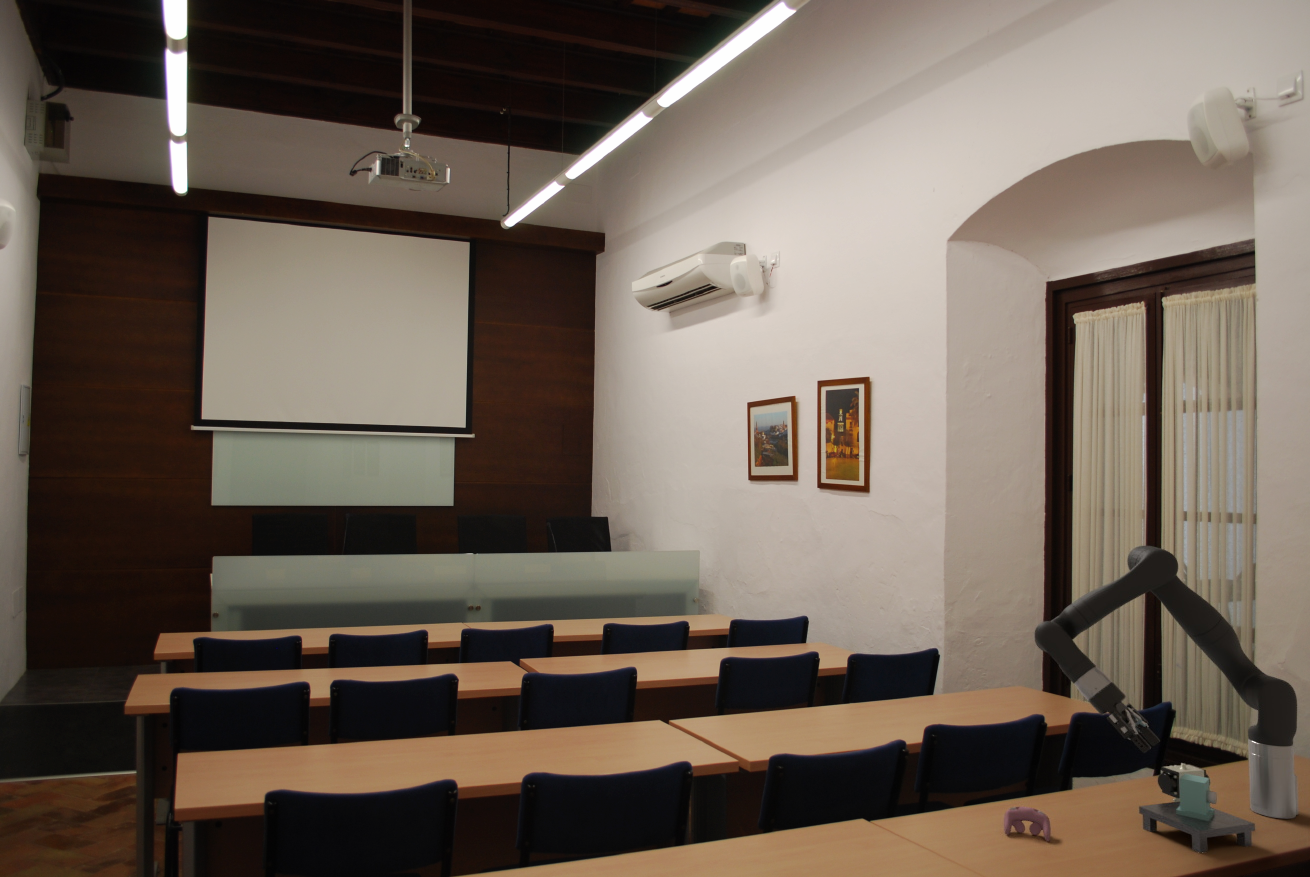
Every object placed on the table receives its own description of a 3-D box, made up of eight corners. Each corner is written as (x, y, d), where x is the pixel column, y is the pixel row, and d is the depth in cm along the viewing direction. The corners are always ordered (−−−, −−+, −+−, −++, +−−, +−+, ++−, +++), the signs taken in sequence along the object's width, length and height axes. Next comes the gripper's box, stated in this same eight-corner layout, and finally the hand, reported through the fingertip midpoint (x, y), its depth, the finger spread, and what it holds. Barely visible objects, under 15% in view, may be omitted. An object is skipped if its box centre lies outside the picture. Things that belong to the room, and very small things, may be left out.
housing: (1182, 807, 206) (1181, 772, 207) (1219, 814, 201) (1218, 779, 202) (1176, 814, 202) (1175, 778, 202) (1213, 822, 197) (1212, 785, 197)
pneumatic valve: (1212, 814, 216) (1210, 764, 216) (1173, 819, 212) (1172, 768, 213) (1192, 807, 221) (1191, 758, 222) (1154, 811, 218) (1153, 761, 219)
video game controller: (1050, 844, 200) (1050, 811, 203) (1050, 841, 196) (1050, 808, 200) (1004, 837, 204) (1004, 805, 207) (1003, 834, 200) (1003, 801, 204)
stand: (1191, 821, 211) (1191, 799, 211) (1255, 846, 196) (1254, 823, 196) (1139, 828, 206) (1139, 806, 207) (1200, 854, 191) (1200, 830, 191)
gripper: (1102, 685, 210) (1157, 743, 201) (1118, 676, 220) (1172, 732, 212) (1079, 704, 213) (1132, 762, 205) (1096, 695, 224) (1147, 750, 215)
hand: (1152, 747), depth 208 cm, fingers open, 8 cm apart
